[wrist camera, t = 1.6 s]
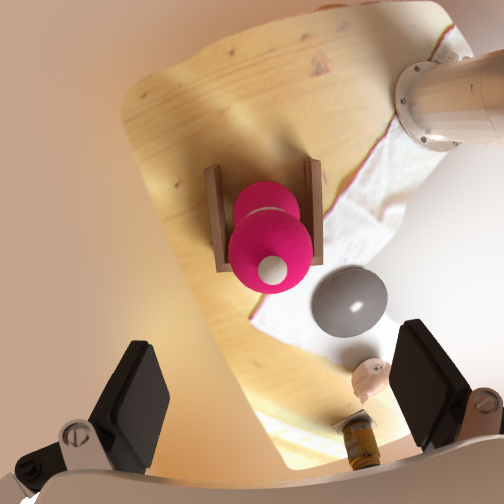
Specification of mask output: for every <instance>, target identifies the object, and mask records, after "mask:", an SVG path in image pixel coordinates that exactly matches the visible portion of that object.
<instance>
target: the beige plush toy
mask: <svg viewBox="0 0 504 504" xmlns="http://www.w3.org/2000/svg"><path fill="white" fill-rule="evenodd" d="M390 369H391V366H390V364H389V363H388V362H384V361H383V360H381V359H378V358H371V359H368V360H366V361H364V362H362V363H361V364H360V365H359V366H358V367H357V369H356V370H355V371H354V373H353V375H352V386H353V389H354V394H355V395H356V396H357V397H358V398H361V403H362V405H363V403H364V402H365V401H366V400H367V399H368V397H370V396H373V395H375V394H377V393H379V392H381V391H383V390H384V389H385V388H386V387H387V386H388V385H389V373H390Z"/></svg>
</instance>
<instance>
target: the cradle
mask: <svg viewBox="0 0 504 504" xmlns="http://www.w3.org/2000/svg"><path fill="white" fill-rule="evenodd" d="M304 171H305V189H306V211H307V231H308V233H309V235H310V238H311V242H312V249H313V257H312V262H311V265H310V266H314V265H323V209H322V181H321V161H319V160H315V159H304ZM204 175H205V184H206V193H207V201H208V209H209V218H210V226H211V233H212V241H213V249H214V256H215V263H216V271H217V272H232V271H233V270H232V268H231V265H230V262H229V256H228V240H227V231H226V222H225V213H224V204H223V195H222V185H221V175H220V166H219V165H218V166H211V167H209V168H206V169H204Z"/></svg>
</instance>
